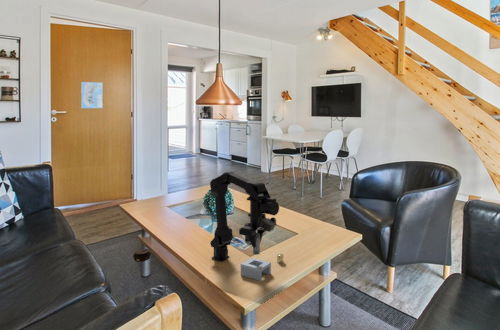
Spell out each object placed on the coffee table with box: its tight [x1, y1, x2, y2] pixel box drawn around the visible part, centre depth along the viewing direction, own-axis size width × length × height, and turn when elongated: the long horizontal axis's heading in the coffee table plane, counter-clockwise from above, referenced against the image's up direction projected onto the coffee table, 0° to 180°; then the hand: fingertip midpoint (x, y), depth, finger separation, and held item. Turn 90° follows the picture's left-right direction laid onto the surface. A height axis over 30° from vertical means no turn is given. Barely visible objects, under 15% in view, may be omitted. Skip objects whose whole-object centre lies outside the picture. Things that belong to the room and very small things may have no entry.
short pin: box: [276, 253, 284, 264], centre depth 145 cm, size 3×3×4 cm
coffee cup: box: [132, 248, 152, 263], centre depth 151 cm, size 9×8×13 cm
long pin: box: [252, 232, 261, 256], centre depth 132 cm, size 3×3×9 cm
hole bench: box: [240, 257, 272, 282], centre depth 133 cm, size 10×9×5 cm
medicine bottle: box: [241, 222, 251, 242], centre depth 173 cm, size 7×7×12 cm
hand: (256, 246), depth 132 cm, fingers closed on long pin, 3 cm apart
